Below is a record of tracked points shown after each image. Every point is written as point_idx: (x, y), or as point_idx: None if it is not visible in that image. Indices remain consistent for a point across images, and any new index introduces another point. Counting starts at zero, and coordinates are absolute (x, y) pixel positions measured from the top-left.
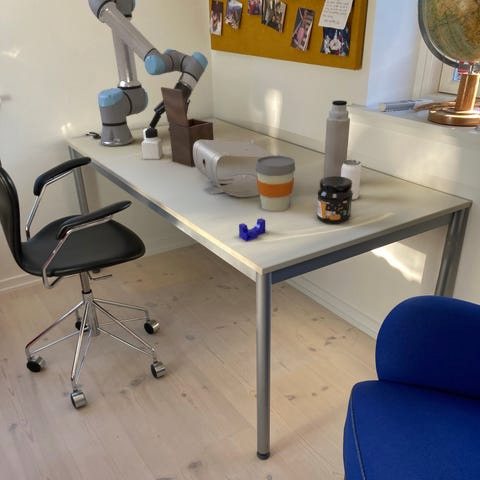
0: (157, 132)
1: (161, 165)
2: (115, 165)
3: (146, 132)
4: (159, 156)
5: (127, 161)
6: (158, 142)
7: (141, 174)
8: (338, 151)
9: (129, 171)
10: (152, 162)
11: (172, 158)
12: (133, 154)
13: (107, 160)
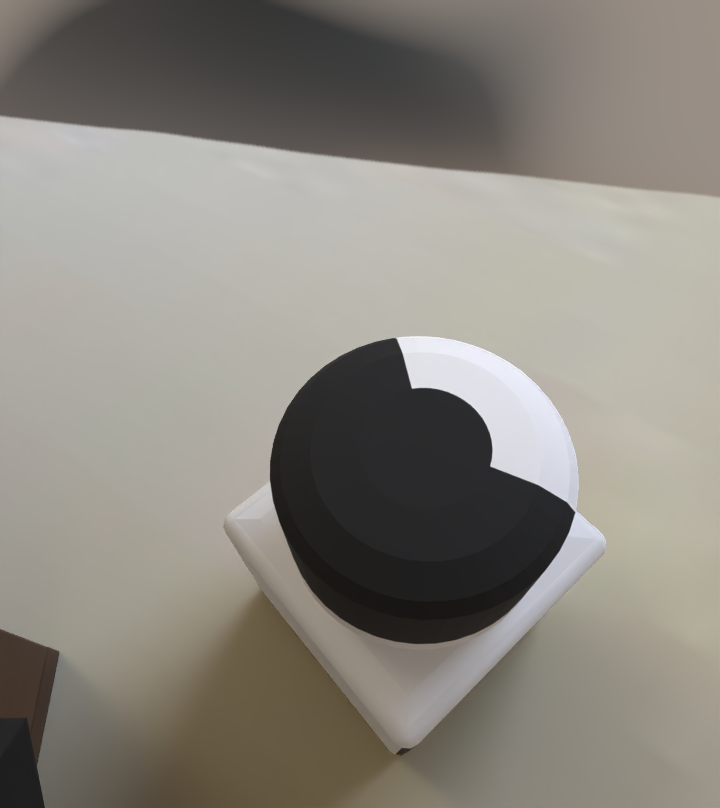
0: (314, 582)
1: (61, 466)
2: (426, 214)
3: (360, 349)
4: (264, 593)
5: (464, 328)
6: (252, 566)
7: (34, 225)
8: None
9: (183, 207)
10: (230, 466)
11: (37, 645)
12: (690, 503)
13: (629, 238)
